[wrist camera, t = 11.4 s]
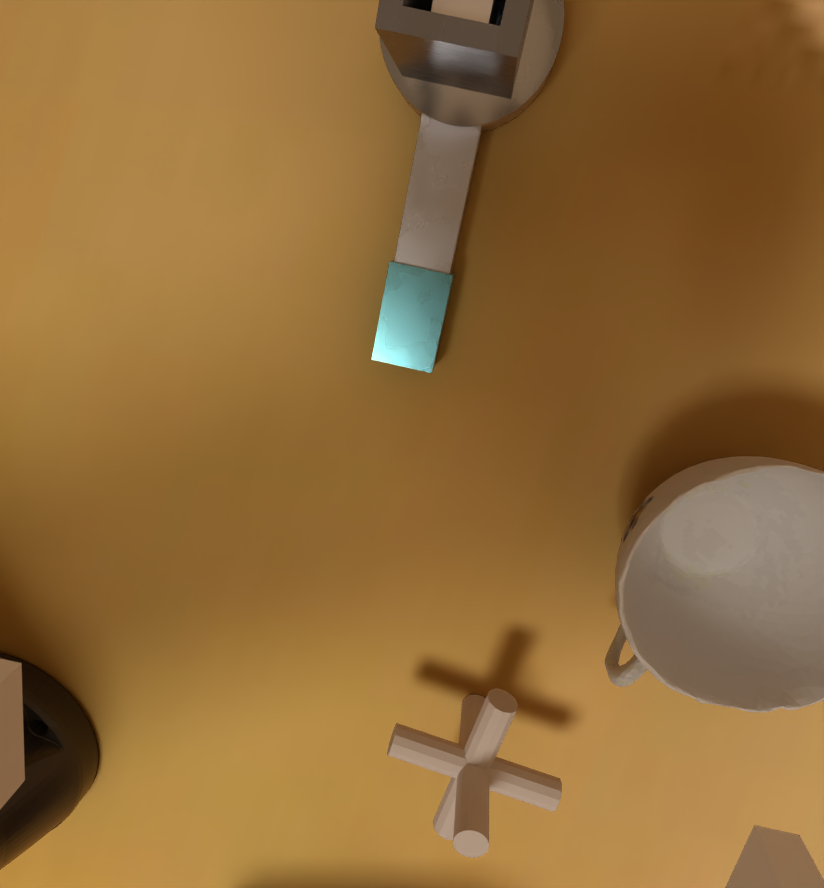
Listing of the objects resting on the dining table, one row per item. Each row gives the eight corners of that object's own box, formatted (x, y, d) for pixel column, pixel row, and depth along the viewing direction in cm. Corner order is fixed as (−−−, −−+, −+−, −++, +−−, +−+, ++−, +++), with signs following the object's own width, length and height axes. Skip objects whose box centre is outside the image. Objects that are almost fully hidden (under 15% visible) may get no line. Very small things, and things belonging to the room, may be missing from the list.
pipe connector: (426, 620, 40) (405, 739, 31) (576, 671, 40) (603, 806, 30) (382, 738, 43) (351, 878, 34) (521, 785, 43) (529, 939, 34)
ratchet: (336, 342, 35) (300, 367, 29) (405, -78, 29) (380, -172, 22) (477, 374, 35) (474, 407, 28) (580, -44, 28) (606, -129, 22)
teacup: (723, 369, 33) (791, 408, 26) (878, 523, 35) (985, 603, 27) (517, 551, 38) (524, 629, 30) (662, 680, 39) (703, 785, 32)
